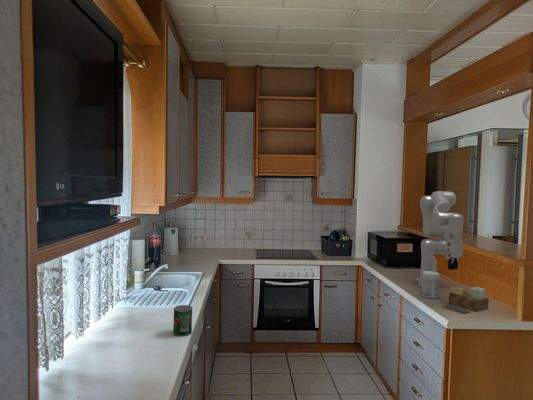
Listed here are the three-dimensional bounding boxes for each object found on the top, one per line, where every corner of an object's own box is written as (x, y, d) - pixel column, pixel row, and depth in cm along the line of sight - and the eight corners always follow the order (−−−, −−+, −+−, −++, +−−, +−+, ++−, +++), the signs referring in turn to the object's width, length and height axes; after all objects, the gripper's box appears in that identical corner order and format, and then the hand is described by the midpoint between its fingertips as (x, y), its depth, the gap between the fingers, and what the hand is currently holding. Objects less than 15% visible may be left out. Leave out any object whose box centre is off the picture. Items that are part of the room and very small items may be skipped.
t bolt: (450, 292, 227) (451, 287, 227) (456, 291, 230) (457, 286, 230) (462, 295, 221) (462, 290, 221) (468, 294, 224) (468, 289, 224)
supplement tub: (433, 294, 244) (435, 270, 243) (441, 299, 235) (443, 274, 234) (418, 294, 244) (420, 270, 243) (425, 299, 234) (427, 274, 233)
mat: (443, 307, 220) (443, 306, 220) (450, 305, 223) (450, 304, 223) (463, 314, 210) (463, 313, 210) (471, 312, 213) (471, 311, 213)
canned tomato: (169, 333, 171) (169, 308, 170) (183, 327, 177) (184, 303, 177) (181, 338, 166) (181, 312, 166) (195, 332, 172) (196, 308, 172)
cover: (470, 296, 220) (471, 286, 220) (475, 295, 223) (476, 285, 223) (479, 299, 216) (480, 289, 216) (484, 298, 219) (485, 287, 218)
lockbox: (448, 303, 228) (449, 292, 227) (460, 300, 234) (461, 290, 234) (476, 311, 214) (476, 300, 214) (488, 308, 221) (488, 297, 220)
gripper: (452, 238, 212) (450, 272, 213) (469, 236, 220) (467, 269, 222) (439, 236, 218) (437, 269, 219) (456, 234, 227) (454, 266, 228)
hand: (452, 269), depth 220 cm, fingers open, 3 cm apart
